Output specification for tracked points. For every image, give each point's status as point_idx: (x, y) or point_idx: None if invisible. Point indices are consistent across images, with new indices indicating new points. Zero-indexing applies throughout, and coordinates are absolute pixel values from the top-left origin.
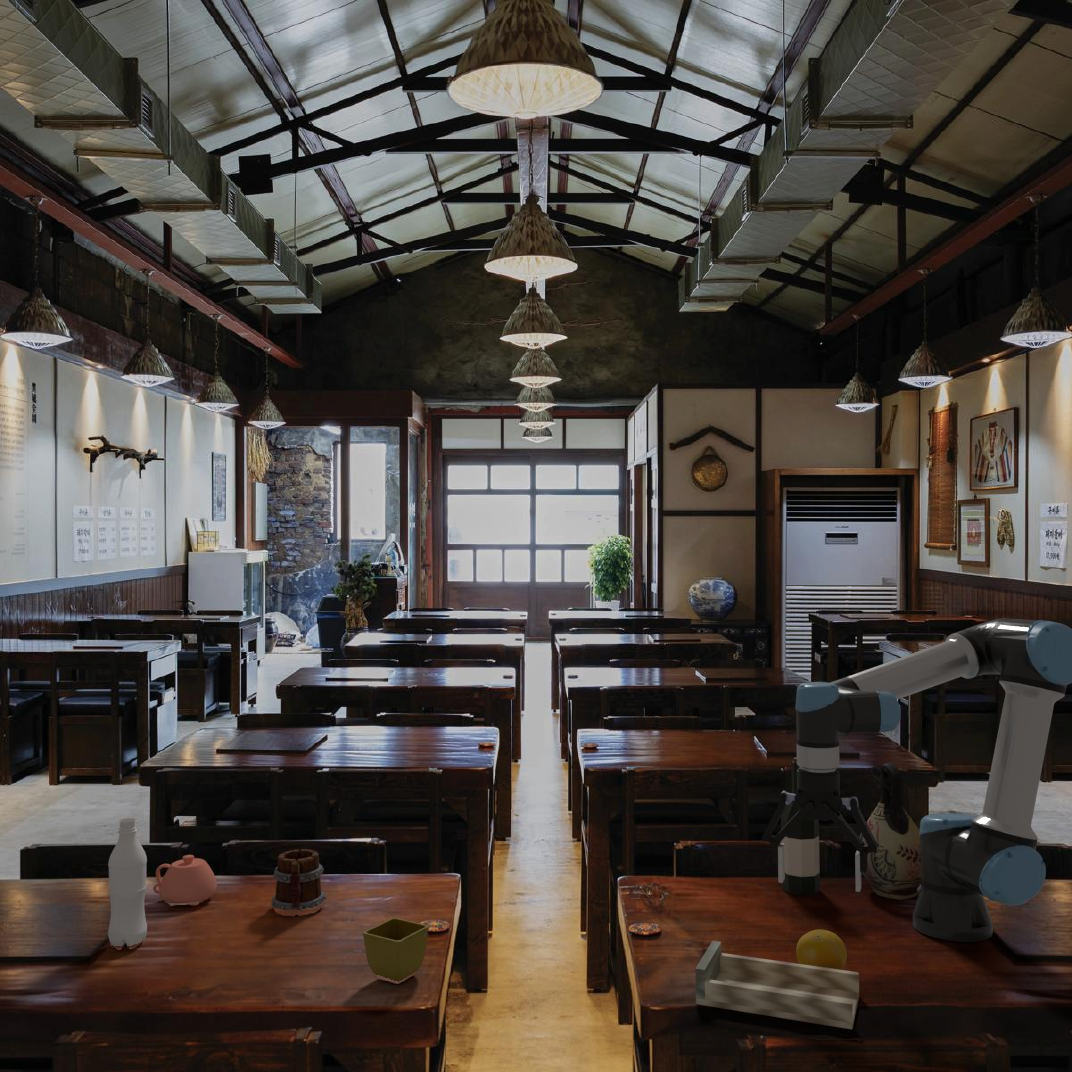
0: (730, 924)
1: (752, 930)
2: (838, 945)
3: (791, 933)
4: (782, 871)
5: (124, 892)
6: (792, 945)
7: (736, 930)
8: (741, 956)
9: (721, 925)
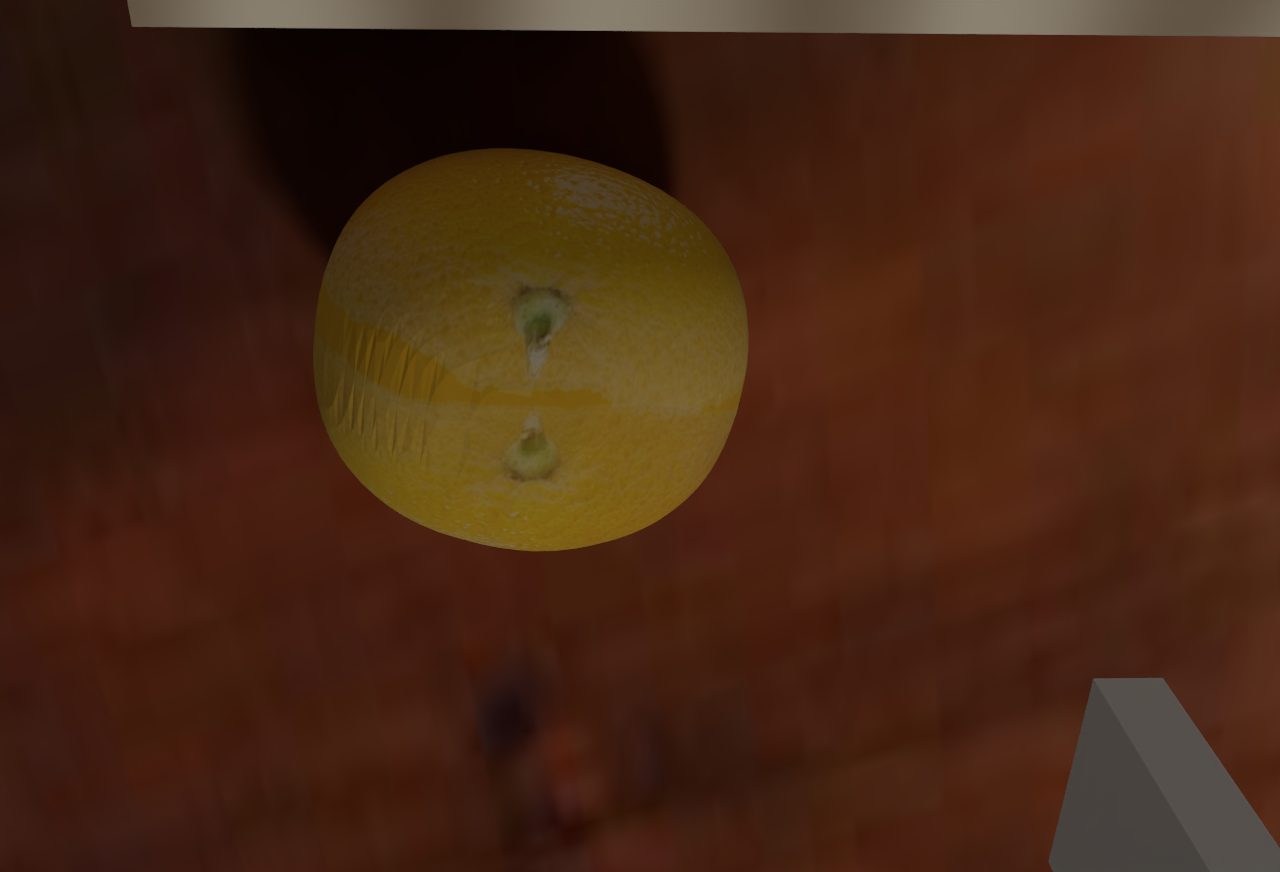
0: None
1: None
2: (347, 322)
3: (814, 857)
4: (1179, 833)
5: None
6: (795, 700)
7: None
8: (1241, 20)
9: None
